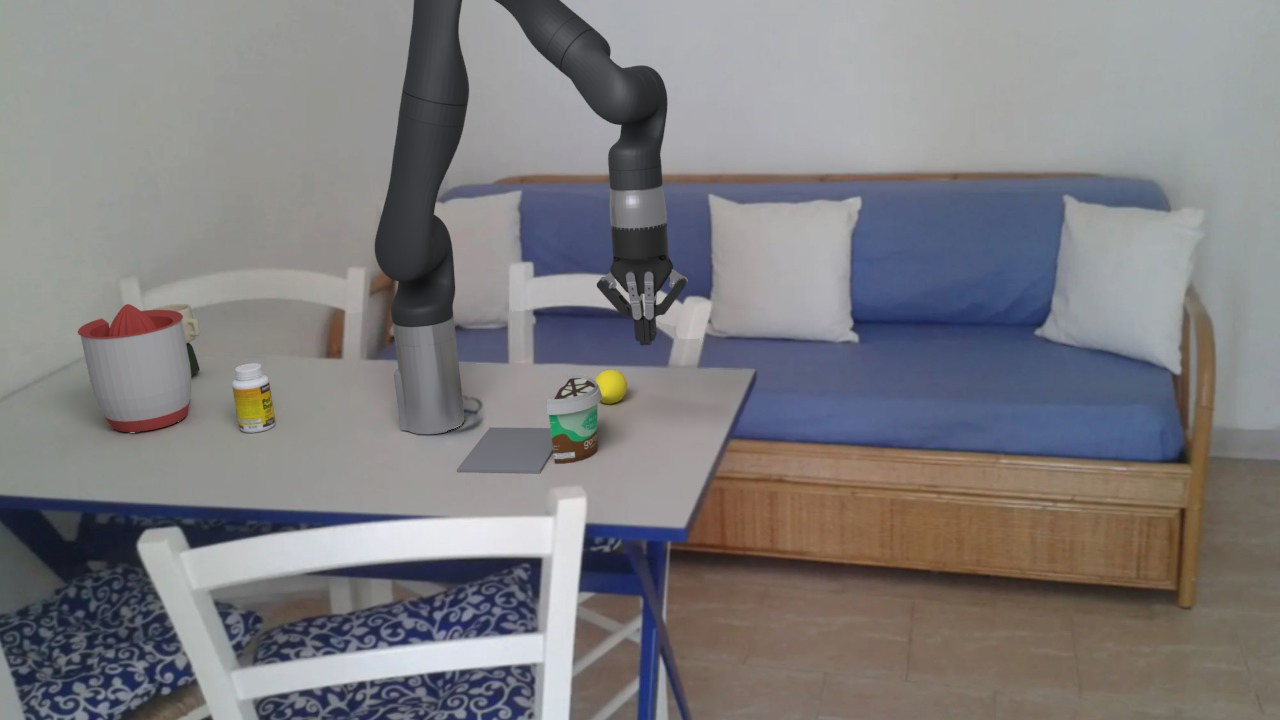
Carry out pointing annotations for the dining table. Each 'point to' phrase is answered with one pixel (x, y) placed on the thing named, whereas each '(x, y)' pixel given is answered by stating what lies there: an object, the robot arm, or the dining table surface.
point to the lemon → (611, 386)
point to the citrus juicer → (139, 368)
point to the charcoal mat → (510, 451)
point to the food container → (574, 419)
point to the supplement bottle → (253, 399)
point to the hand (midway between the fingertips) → (646, 343)
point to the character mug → (187, 330)
